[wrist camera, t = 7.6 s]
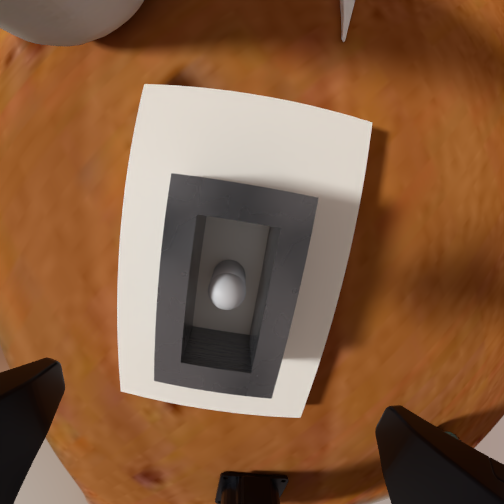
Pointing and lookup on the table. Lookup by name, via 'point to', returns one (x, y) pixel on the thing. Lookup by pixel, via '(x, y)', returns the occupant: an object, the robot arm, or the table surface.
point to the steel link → (268, 296)
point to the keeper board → (236, 228)
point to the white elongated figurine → (345, 16)
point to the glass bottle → (64, 19)
